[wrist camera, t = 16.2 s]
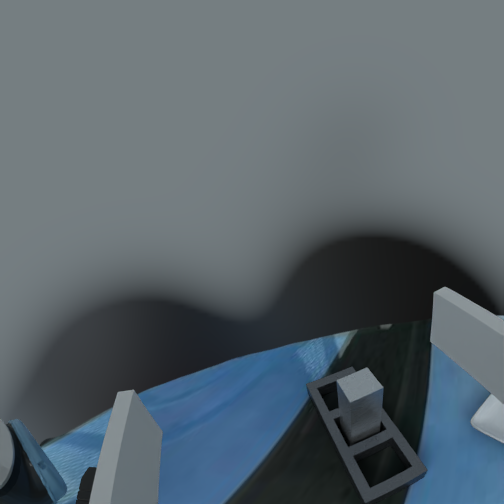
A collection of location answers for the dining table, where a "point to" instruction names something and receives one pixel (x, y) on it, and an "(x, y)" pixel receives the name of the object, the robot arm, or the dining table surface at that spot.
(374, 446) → the rack rail
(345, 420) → the grey upright post
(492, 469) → the dining table surface
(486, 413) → the salad plate
